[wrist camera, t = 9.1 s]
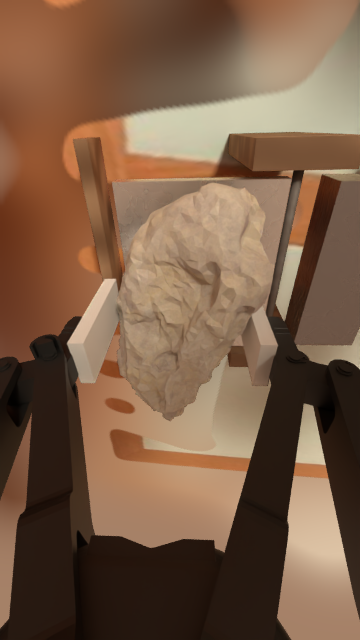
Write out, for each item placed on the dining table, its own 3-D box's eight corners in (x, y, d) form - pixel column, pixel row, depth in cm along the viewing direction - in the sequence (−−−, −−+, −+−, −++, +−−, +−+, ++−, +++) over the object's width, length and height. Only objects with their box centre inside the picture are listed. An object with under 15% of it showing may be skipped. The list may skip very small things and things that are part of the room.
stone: (123, 284, 22) (86, 407, 18) (149, 135, 12) (73, 352, 7) (208, 308, 24) (194, 428, 19) (303, 196, 13) (321, 409, 8)
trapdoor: (122, 175, 19) (112, 182, 17) (397, 169, 18) (429, 175, 16) (142, 325, 27) (137, 345, 24) (335, 326, 26) (350, 346, 24)
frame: (87, 137, 26) (15, 144, 15) (294, 132, 25) (369, 135, 14) (117, 295, 36) (85, 364, 26) (264, 295, 35) (295, 367, 25)
